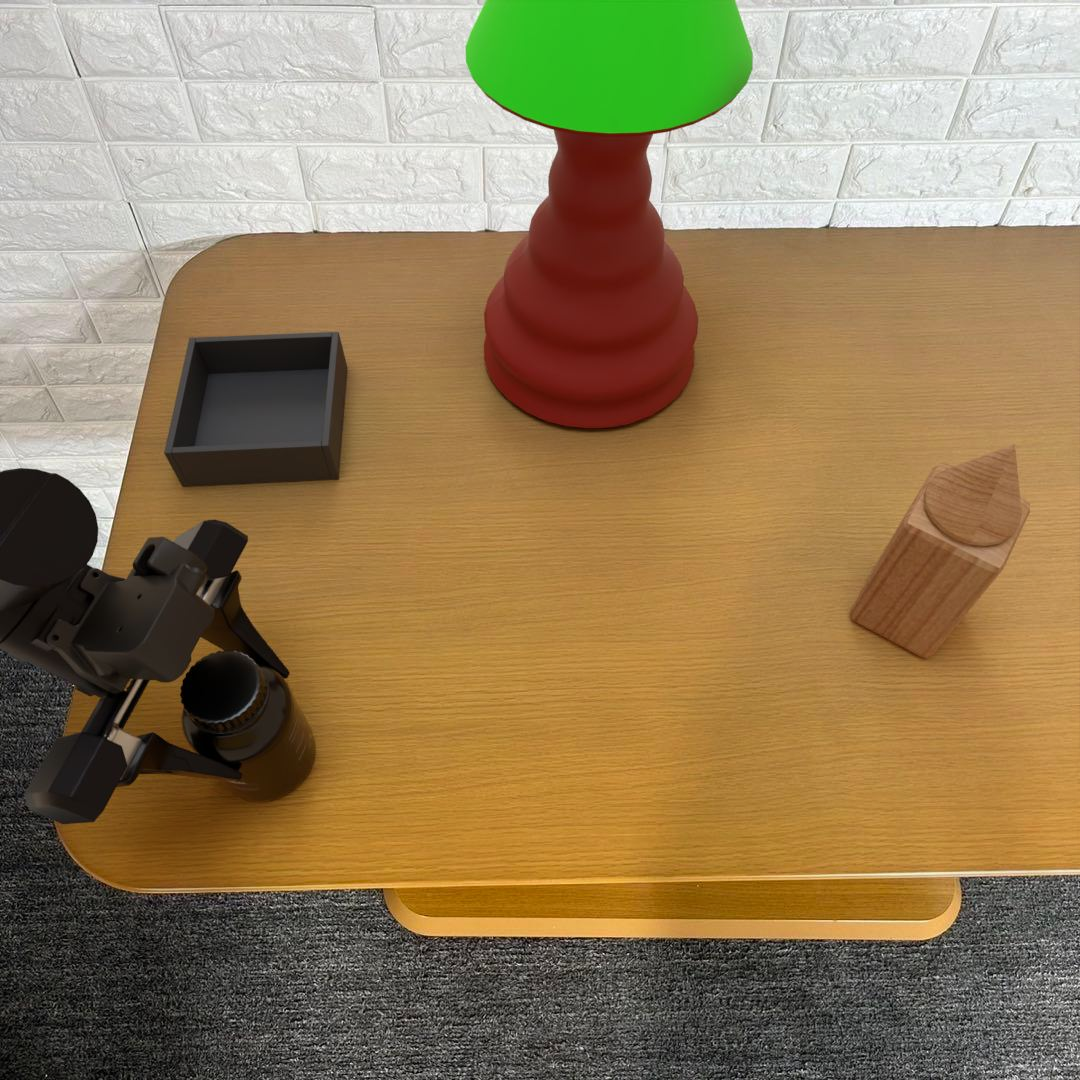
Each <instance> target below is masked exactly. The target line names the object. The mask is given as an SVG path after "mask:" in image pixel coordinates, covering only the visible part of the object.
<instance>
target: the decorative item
mask: <svg viewBox="0 0 1080 1080" xmlns="http://www.w3.org/2000/svg"><path fill="white" fill-rule="evenodd" d="M1016 451H1017V450H1016V443H1012V444H1010V445H1007V446H1004V447H1002V448H1000V449H997V450H994V451H991V452H989V453H985V454H983V455H981V456H978V457H976V458H975V457H974V458H973V459H970V460H967V461H965V462H963V463H960V464H956V465H954V466H953V465H952V464H949V463H947V462H940V463H938V464H937V465H936V466H934V467H933V468H932V469H931V471H930V472H929V474H928V476H927V478H926V479H925V480H924V483H923V484H922V486H921V487H920V489H919V490H918V492H917V494H916V496H915V497H914V499H913V501H912V503H911V504H910V506H909V507H908V509H907V510H906V513H905V515H904V516H903V518H902V519H901V521H900V523H899V524H898V526H897V528H896V529H895V531H894V533H893V534H892V536H891V538H890V539H889V542H888V543H887V545H886V546H885V548H884V550H883V552H882V553H881V555H880V556H879V558H878V560H877V562H876V564H875V565H874V567H873V569H872V571H871V572H870V574H869V576H868V577H867V579H866V581H865V583H864V585H863V587H862V588H861V590H860V591H859V593H858V595H857V597H856V599H855V600H854V602H853V604H852V606H851V608H850V611H849V612H850V614H849V615H850V618H851V620H852V621H854V622H855V623H856V624H859V625H860V626H862V627H864V628H866V629H868V630H870V631H872V632H874V633H875V634H877V635H879V636H881V637H883V638H885V639H887V640H888V641H891V642H892V643H894V644H896V645H898V646H900V647H902V648H903V649H905V650H907V651H910V652H911V653H913V654H915V655H917V656H919V657H920V658H925V659H927V658H930V657H931V656H933V655H935V653H936V651H938V649H939V648H940V647H941V645H942V644H943V643H944V642H945V641H946V640H947V638H948V637H949V636H950V634H951V633H952V632H953V631H954V630H955V629H956V627H957V626H958V625H959V623H960V622H961V621H962V620H963V619H964V617H965V616H966V615H967V614H968V613H969V612H970V610H971V609H972V608H973V607H974V606H975V605H976V603H977V602H978V601H979V600H980V598H981V597H982V596H983V595H984V594H985V592H986V591H987V590H988V589H989V587H990V586H991V585H992V583H993V582H994V581H995V580H996V579H997V578H998V576H999V575H1000V574H1001V573H1002V571H1003V570H1004V568H1005V567H1006V565H1007V563H1008V560H1009V558H1010V556H1011V554H1012V552H1013V550H1014V547H1015V545H1016V543H1017V541H1018V539H1019V536H1020V534H1021V532H1022V530H1023V528H1024V525H1025V524H1026V522H1027V519H1028V517H1029V516H1030V512H1031V511H1030V510H1031V503H1030V502H1029V501H1028V500H1026V499H1025V498H1023V497H1021V490H1020V482H1019V481H1020V480H1019V471H1018V461H1017V452H1016Z"/></svg>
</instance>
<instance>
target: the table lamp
mask: <svg viewBox="0 0 1080 1080" xmlns="http://www.w3.org/2000/svg"><path fill="white" fill-rule="evenodd" d="M753 59H754V53H753V49H752V46H751V44H750V40H749V38H748V34H747V31H746V29H745V26H744V23H743V20H742V17H741V14H740V11H739V7H738V5H737V2H736V0H484V3H483V6H482V7H481V10H480V12H479V14H478V16H477V19H476V20H475V22H474V24H473V27H472V29H471V30H470V33H469V36H468V38H467V41H466V45H465V63H466V66H467V69H468V70H469V73H470V76H471V78H472V80H473V81H474V83H475V84H476V85H477V86H478V88H479V89H480V90H481V92H482V93H483V94H484V95H485V96H486V97H487V98H488V99H489V100H491V101H492V102H493V103H495V104H496V105H497V106H499V107H500V108H501V109H502V110H504V111H506V112H508V113H509V114H511V115H514V116H516V117H518V118H520V119H521V120H523V121H525V122H528V123H532V124H535V125H538V126H541V127H544V128H545V129H550V130H553V133H554V137H555V142H556V145H557V151H556V153H555V156H554V157H553V160H552V162H551V165H550V169H549V172H548V179H547V186H548V187H547V188H548V195H547V196H546V198H544V200H543V201H542V202H541V203H540V204H539V205H538V206H537V208H536V210H535V211H534V213H533V215H532V217H531V219H530V223H529V228H528V234H526V235H524V237H523V238H522V239H521V240H520V241H519V242H518V243H517V245H515V246H514V248H513V249H512V251H511V253H510V254H509V256H508V258H507V260H506V263H505V267H504V272H503V275H502V276H501V278H500V279H499V280H498V281H497V282H496V283H495V285H494V287H493V289H492V290H491V292H490V294H489V296H488V297H487V300H486V304H485V308H484V312H483V318H484V320H483V321H484V331H485V338H484V342H483V356H484V357H483V361H484V364H485V367H486V370H487V373H488V376H489V378H490V379H491V380H492V382H493V384H494V385H495V387H496V388H497V389H498V390H499V392H500V393H502V394H503V395H504V396H505V397H506V398H507V400H508V401H510V402H511V403H512V404H514V405H515V406H517V407H518V408H519V409H521V410H523V411H524V412H526V413H527V414H530V415H531V416H534V417H536V418H538V419H540V420H543V421H545V422H548V423H551V424H556V425H561V426H565V427H572V428H573V427H574V428H583V429H599V428H602V429H603V428H613V427H620V426H626V425H630V424H634V423H636V422H638V421H641V420H643V419H647V418H648V417H651V416H653V415H654V414H655V413H657V412H659V411H661V410H662V409H664V408H665V407H667V406H668V405H669V404H670V403H671V402H673V401H674V400H675V399H676V398H677V397H678V396H679V395H681V393H682V391H683V390H684V388H685V387H686V386H687V384H688V382H689V381H690V379H691V376H692V372H693V370H694V367H695V347H694V346H695V343H696V341H697V337H698V332H699V331H698V330H699V315H698V312H697V311H698V310H697V307H696V304H695V302H694V300H693V298H692V296H691V294H690V292H689V291H688V289H687V287H686V285H684V283H685V279H684V278H685V277H684V272H683V268H682V265H681V263H680V261H679V258H678V257H677V255H676V253H675V252H674V250H673V248H671V246H670V245H669V244H668V243H667V242H666V241H665V239H666V234H665V228H664V223H663V220H662V218H661V215H660V214H659V212H658V210H657V208H656V207H655V205H653V203H652V201H651V200H650V198H651V193H652V184H653V176H652V170H651V166H650V163H649V159H648V155H647V152H648V148H649V146H650V143H651V141H652V138H653V136H654V135H657V134H663V133H668V132H673V131H676V130H679V129H683V128H685V127H689V126H693V125H695V124H697V123H699V122H702V121H704V120H706V119H708V118H710V117H712V116H714V115H716V114H717V113H720V111H722V110H723V109H724V108H725V107H727V106H729V105H730V104H731V103H732V102H733V101H734V100H735V99H736V98H737V96H738V95H739V94H740V92H741V91H742V90H743V89H744V88H745V87H746V86H747V84H748V82H749V79H750V76H751V74H752V72H753V67H754V66H753V65H754V60H753Z"/></svg>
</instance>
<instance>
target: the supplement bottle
mask: <svg viewBox="0 0 1080 1080" xmlns="http://www.w3.org/2000/svg"><path fill="white" fill-rule="evenodd" d="M181 684H182V685H181V686H180V693H179V696H180V698H181V700H180V703H181V705H182V706H183V707H182V711H181V730H182V732H183V735H184V738H185V740H186V742H187V743H188V745H189V747H190V748H191V749H192V750H193V752H194V753H197V754H200V755H203V756H205V757H208V758H211V759H213V760H216V761H219V762H222V763H224V764H226V765H228V766H230V767H232V768H233V769H235V770H237V771H239V772H241V773H242V774H243V776H242V778H241V780H238V781H229V780H218V781H219V782H220V783H221V785H223V787H224V788H225V789H226V790H227V791H228V792H230V793H231V794H232V795H234V796H235V797H237V798H240V799H242V800H245V801H249V802H255V803H256V802H260V803H261V802H262V803H263V802H269V801H272V800H276V799H279V798H281V797H283V796H286V795H287V794H289V793H290V792H291V791H294V790H295V789H296V788H297V787H298V786H299V785H300V784H301V783H302V781H304V779H306V777H307V775H308V773H309V772H310V770H311V768H312V765H313V762H314V760H315V753H316V742H315V736H314V734H313V730H312V729H311V726H310V724H309V722H308V720H307V718H306V717H305V714H304V712H303V711H302V709H301V706H300V704H299V703H298V700H297V699H296V697H295V695H294V693H293V691H292V689H291V687H290V685H289V684H288V682H287V681H286V679H284V678H283V677H282V676H281V675H280V673H278V672H277V671H276V670H275V669H273V668H272V667H270V666H268V665H266V664H263V663H260V662H255V661H254V660H253V659H251V658H250V657H249V656H248V655H245V654H243V653H242V652H236V651H234V650H232V651H228V650H218V651H216V652H211V653H209V654H208V655H206V656H202V658H200V659H199V660H197V661H196V662H195V663H194V664H193V665H191V667H189V670H188V671H187V672H185V676H184V678H183V679H182V683H181Z"/></svg>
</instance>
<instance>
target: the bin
mask: <svg viewBox="0 0 1080 1080" xmlns="http://www.w3.org/2000/svg"><path fill="white" fill-rule="evenodd" d="M346 359H347V358H346V355H345V351H344V347H343V344H342V340H341V335H340V332H339V331H328V332H327V331H321V332H299V333H298V332H297V333H295V332H294V333H270V334H248V335H223V336H222V335H221V336H199V337H197V336H196V337H189V338H188V342H187V347H186V352H185V356H184V360H183V365H182V369H181V374H180V378H179V383H178V387H177V392H176V397H175V402H174V406H173V410H172V415H171V419H170V423H169V424H170V425H169V427H168V434H167V438H166V441H165V447H164V452H163V455H164V456H165V458H166V459H167V462H168V463H169V465H170V467H171V469H172V471H173V472H174V475H175V476H176V478H177V480H178V482H179V483H180V485H181V487H202V486H203V487H204V486H221V485H223V486H225V485H244V484H264V483H265V484H266V483H286V482H287V483H288V482H290V483H291V482H310V481H329V480H339V478H340V467H341V466H340V465H341V457H342V455H341V454H342V443H343V441H342V440H343V430H344V429H343V428H344V419H345V418H344V417H345V416H344V415H345V406H346V405H345V404H346V403H345V402H346V393H347V392H346V391H347V389H346V388H347V378H348V364H347V360H346Z"/></svg>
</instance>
